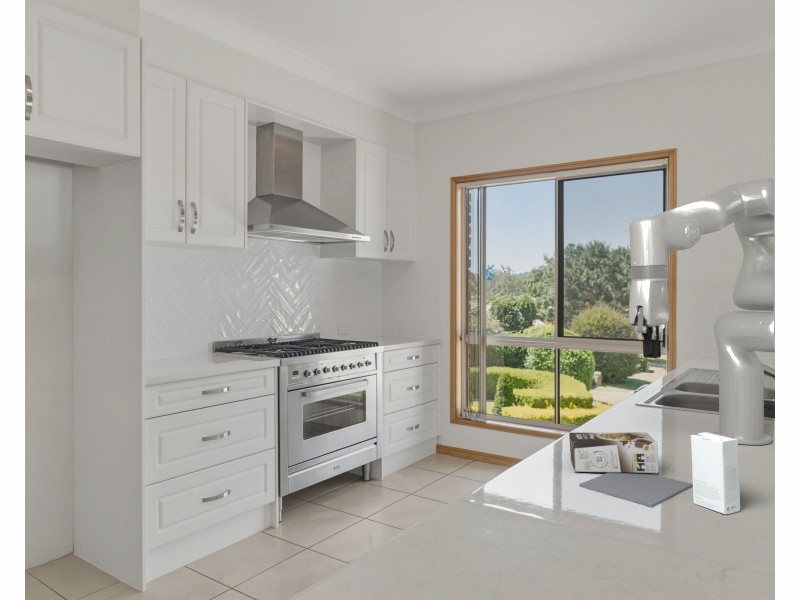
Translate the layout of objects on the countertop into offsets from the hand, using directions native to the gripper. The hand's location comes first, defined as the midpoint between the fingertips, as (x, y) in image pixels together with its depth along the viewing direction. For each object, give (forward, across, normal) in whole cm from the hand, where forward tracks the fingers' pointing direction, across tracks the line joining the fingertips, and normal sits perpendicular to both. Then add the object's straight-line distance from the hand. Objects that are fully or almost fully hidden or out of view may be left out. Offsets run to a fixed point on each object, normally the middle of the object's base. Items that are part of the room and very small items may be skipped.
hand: (652, 357), depth 124 cm
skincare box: (+22, +22, +20) cm, 37 cm away
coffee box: (+18, +9, +4) cm, 21 cm away
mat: (+22, +21, +6) cm, 31 cm away
